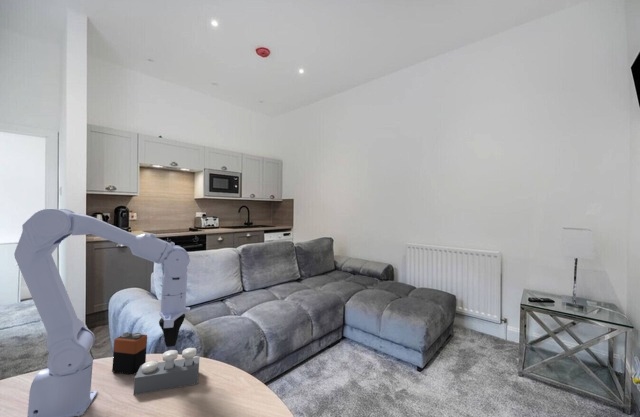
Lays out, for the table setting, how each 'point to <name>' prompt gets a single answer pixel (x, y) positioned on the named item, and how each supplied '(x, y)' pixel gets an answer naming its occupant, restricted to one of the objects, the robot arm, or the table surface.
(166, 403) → the table surface
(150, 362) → the knob near
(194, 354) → the knob far
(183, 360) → the mount
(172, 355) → the knob middle
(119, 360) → the battery
